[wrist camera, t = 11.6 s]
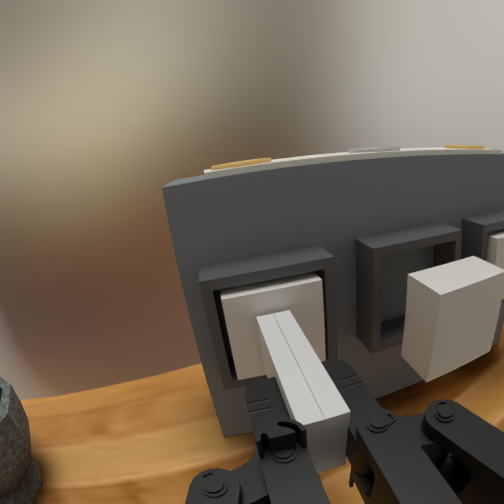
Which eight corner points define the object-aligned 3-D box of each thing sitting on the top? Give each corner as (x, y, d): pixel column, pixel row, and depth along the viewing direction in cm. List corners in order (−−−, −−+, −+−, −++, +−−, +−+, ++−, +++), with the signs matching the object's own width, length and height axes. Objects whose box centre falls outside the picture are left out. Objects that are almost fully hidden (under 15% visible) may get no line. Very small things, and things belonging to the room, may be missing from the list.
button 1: (311, 336, 17) (305, 263, 16) (325, 360, 15) (321, 279, 14) (232, 353, 17) (218, 279, 16) (238, 380, 15) (221, 299, 13)
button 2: (502, 278, 19) (508, 221, 18) (523, 288, 17) (531, 228, 15) (466, 292, 18) (472, 229, 17) (489, 305, 16) (497, 238, 15)
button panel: (465, 319, 26) (474, 145, 21) (512, 353, 19) (537, 149, 15) (218, 391, 24) (170, 172, 19) (226, 459, 17) (153, 179, 12)
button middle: (463, 330, 15) (473, 255, 13) (490, 351, 12) (506, 270, 11) (401, 355, 14) (407, 273, 13) (426, 382, 12) (440, 294, 11)
